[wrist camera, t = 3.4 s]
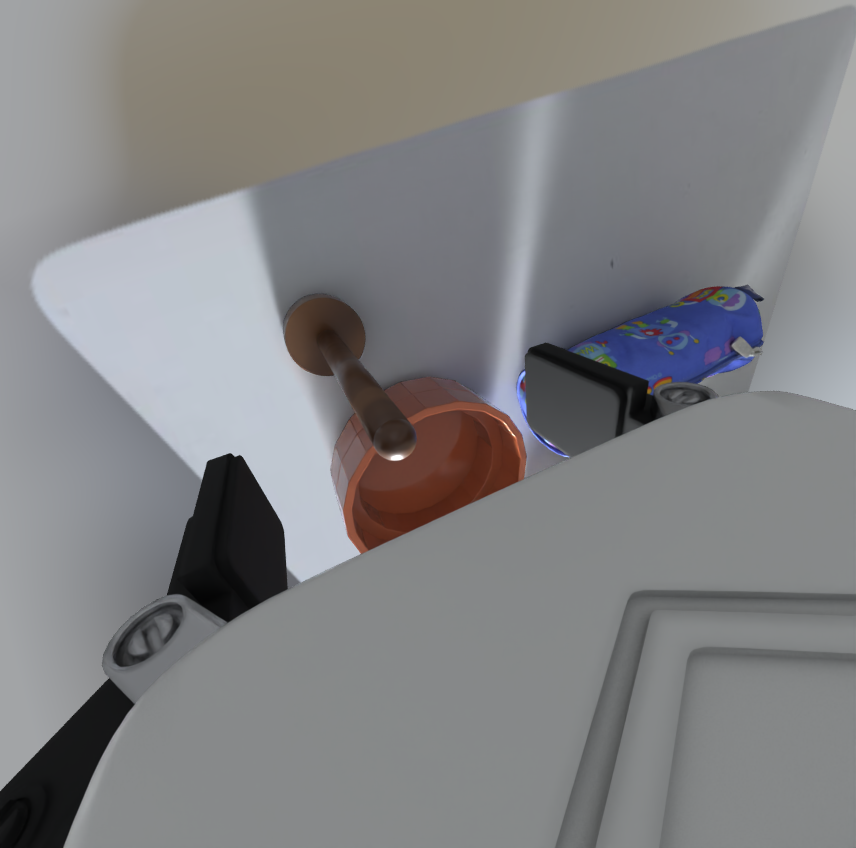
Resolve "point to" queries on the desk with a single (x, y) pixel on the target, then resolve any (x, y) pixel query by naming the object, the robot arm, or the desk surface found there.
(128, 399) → the desk surface
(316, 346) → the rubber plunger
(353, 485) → the mixing bowl
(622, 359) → the pencil case
